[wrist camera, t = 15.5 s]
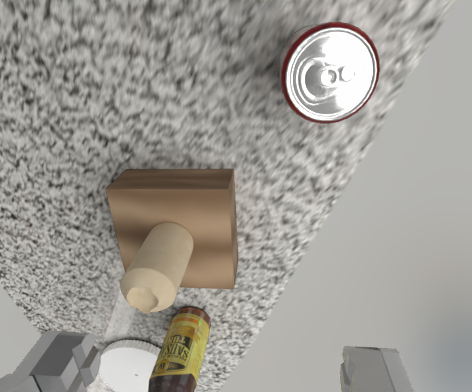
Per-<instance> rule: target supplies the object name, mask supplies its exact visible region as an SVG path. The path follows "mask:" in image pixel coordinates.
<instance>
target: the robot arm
mask: <svg viewBox="0 0 472 392" xmlns="http://www.w3.org/2000/svg"><path fill="white" fill-rule="evenodd" d="M95 342H96V340H95V337H94V335H93V334H90V333H78V332H66V331H51V330H48V331H47V332H45V333H44V334H43V335H42V336H41V337H40V339H39V340H38V341H37V343H36V344H35V345H34V346H33V348H32V349H31V350H30V352H29V353H28V354H27V356H26V357H25V358H24V359H23V361H22V362H21V363H20V365H19V366H18V367H17V369H16V370H15V371H14V372H13V374H7V375H5V376H4V377H3V378H1V379H0V392H87V389H86V387H87V386H88V385H89V384H91V383H92V382H93V381H94V380H95V378H96V376H97V374H98V372H99V368H100V363H101V355H100V352H99V350H98V349H97V348H96V347H95V346H93V345H94V343H95ZM343 359H344V363H342V364H341V370H340V381H341V390H342V392H414V389H413V387H412V384H411V381H410V379H409V376H408V374H407V371H406V369H405V366H404V364H403V361H402V359H401V356H400V354H399V352H398V351H397V350H396V349H388V348H375V347H350V346H349V347H348V346H345V347H344V349H343Z"/></svg>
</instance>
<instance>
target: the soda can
mask: <svg viewBox="0 0 472 392" xmlns="http://www.w3.org/2000/svg"><path fill="white" fill-rule="evenodd" d="M379 72H380V64H379V57H378V53H377V49H376V47H375V45H374V43H373V42H372V40H371V39H370V38H369V37H368V35H367V34H366V33H365V32H363V31H362V30H361V29H359V28H358V27H355V26H353V25H351V24H348V23H342V22H327V23H321V24H315V25H310V26H306V27H304V28H302V29H300V30H298V31H297V32H295V33H294V34H293V35H292V36H291V37H290V38H289V39H288V40H287V42H286V43H285V45H284V47H283V49H282V51H281V54H280V59H279V73H280V80H281V86H282V92H283V94H284V97H285V99H286V101H287V103H288V104H289V106H290V107H291V109H292V110H293V111H294V112H295V113H296V114H298V115H299V116H301V117H302V118H304V119H306V120H308V121H311V122H315V123H320V124H330V123H335V122H340V121H342V120H345V119H347V118H349V117H351V116H352V115H354V114H355V113H357V112H358V111H359V110H360V109H361V108H362V107H364V105H365V104H366V103H367V102H368V100H369V99H370V98H371V96H372V94H373V92H374V90H375V88H376V85H377V82H378V79H379Z"/></svg>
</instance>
